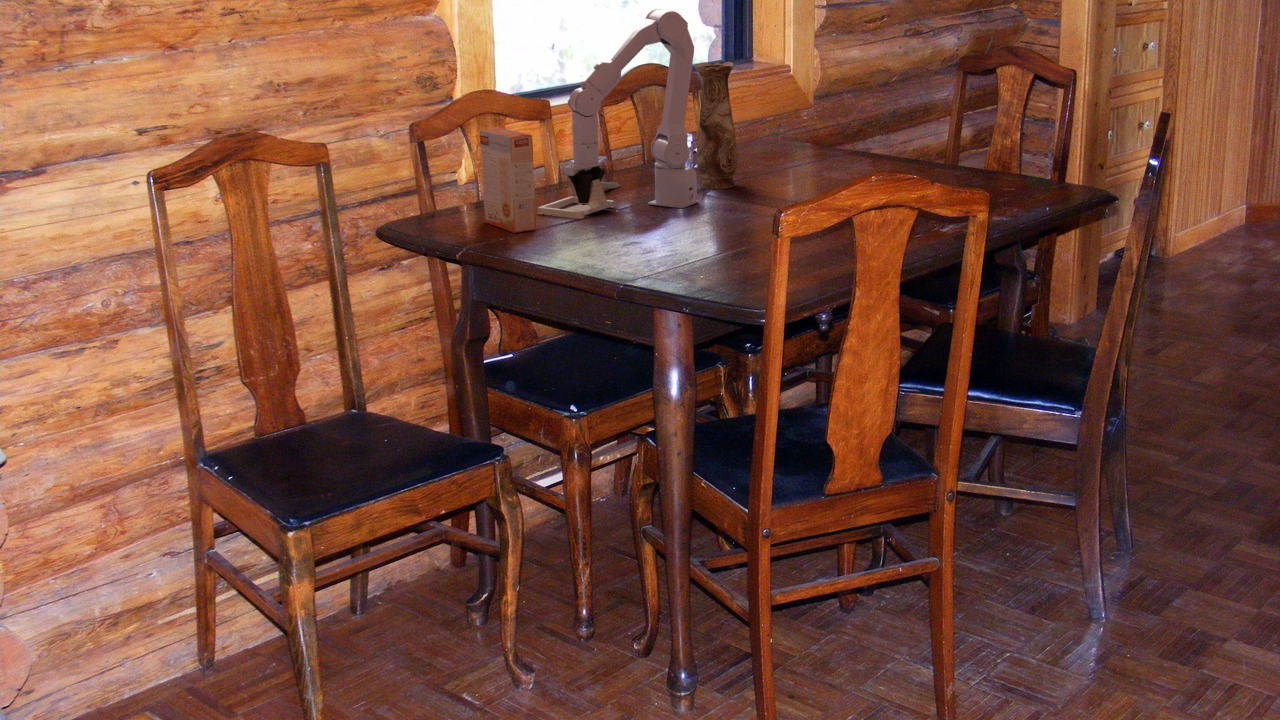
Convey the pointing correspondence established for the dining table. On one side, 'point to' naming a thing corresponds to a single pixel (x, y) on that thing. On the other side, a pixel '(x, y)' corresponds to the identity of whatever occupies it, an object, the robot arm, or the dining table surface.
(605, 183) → the caliper
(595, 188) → the scraper
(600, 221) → the dining table surface
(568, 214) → the frame
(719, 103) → the vase
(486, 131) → the cracker box
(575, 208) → the tile
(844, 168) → the dining table surface
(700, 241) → the dining table surface
